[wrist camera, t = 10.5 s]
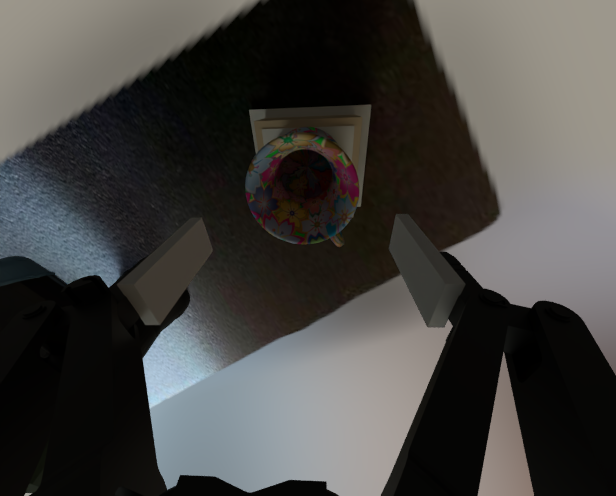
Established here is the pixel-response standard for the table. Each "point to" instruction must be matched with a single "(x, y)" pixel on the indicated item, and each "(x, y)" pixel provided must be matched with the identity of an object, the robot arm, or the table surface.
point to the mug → (303, 187)
